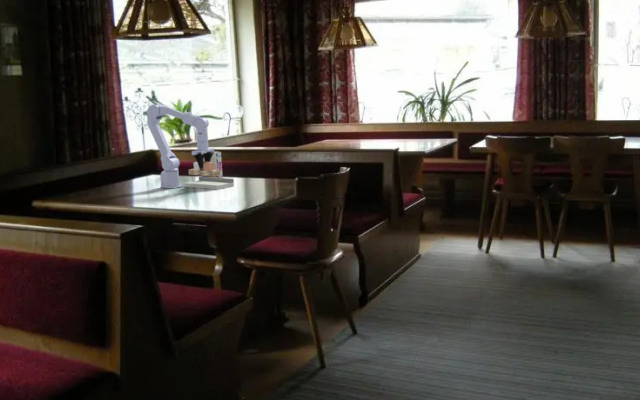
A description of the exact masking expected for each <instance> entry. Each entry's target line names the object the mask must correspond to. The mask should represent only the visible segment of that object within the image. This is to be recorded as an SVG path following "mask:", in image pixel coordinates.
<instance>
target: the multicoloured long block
mask: <svg viewBox="0 0 640 400" xmlns="http://www.w3.org/2000/svg"><path fill="white" fill-rule="evenodd" d="M206 162H209V161H203V163H206ZM188 175H189V176H201V175H203V176H218V175H221V173H220V170H212V171H204V168H199V170H194V168H191V169H188Z"/></svg>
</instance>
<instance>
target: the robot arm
mask: <svg viewBox="0 0 640 400" xmlns="http://www.w3.org/2000/svg"><path fill="white" fill-rule="evenodd" d="M165 115H169V116H171V117H174V118H177V119H180V120H181V121H182V123H184V124H187V125H188V126H192V127H193V128H195V130H196V132H195V133H196V145H197V149H196V150H192V151H191V156H193V157H194V158H195V160H196V162H197V163H198V165H199V168H203V158H204V160H205V161H209V162H210V160H211V157H212V155H213V153H211V152H215V148H209V135H208V134H209V133H208V127H209V126H210V125H209V124H210V123H209V120H208V119H207V118H206V117H204V116H203V117H201V116H200V115H195V114H193V113H192V112H191V111H187V112H182V111H179V110H177V109H175V108H172V107H171V106H169V105H165V104H162V103H159V104H151V105H150V106H148V108H147V110H146V117H147V119H146V120H147V126H148V129H149V131H150V133H151V135H152V137H153V140H154V141H155V144H156V146H157V148H158V150H159V153H160V155H161V156H160V161H161V167H162V169H163V170H162V171H161V172H160V186H159V188H160V189H161V188H163V189H177V188H182V187H183V186H184V185H182V184H181V185H180V177H179V175H180V174H179V167H180V164H181V162H180V160H179V158H178V157H177V156H176V155H175V153H174V152H173V151H172V150H171V148H170V146H169V144H168V141H167V139H166V137H165V135H164V133H163V130H162V128H161V126H160V121H161V119H162V118H163V117H164V116H165ZM202 152H203V153H202ZM204 153H205V154H204ZM202 154H203V155H202Z"/></svg>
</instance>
